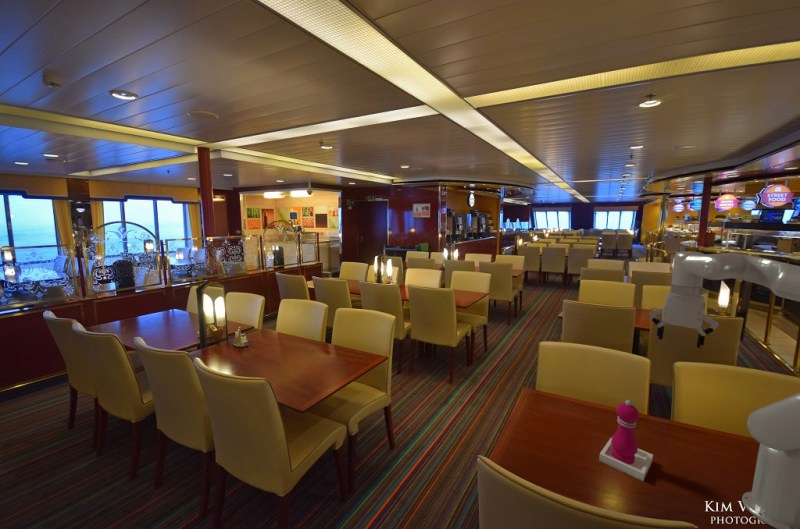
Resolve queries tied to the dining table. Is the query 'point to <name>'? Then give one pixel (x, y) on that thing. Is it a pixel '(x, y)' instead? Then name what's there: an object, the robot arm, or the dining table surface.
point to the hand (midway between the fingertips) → (679, 342)
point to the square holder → (635, 469)
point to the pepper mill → (625, 433)
